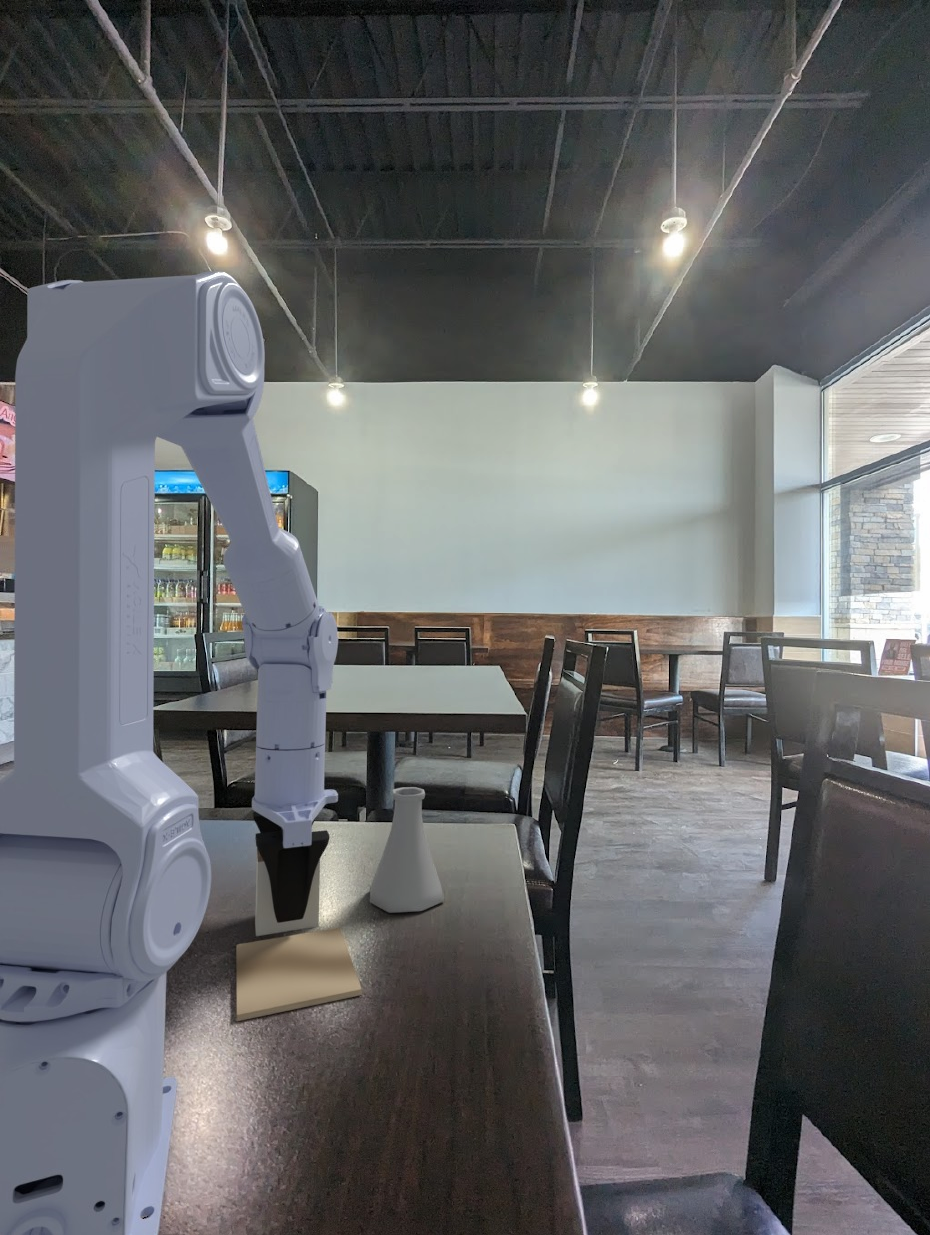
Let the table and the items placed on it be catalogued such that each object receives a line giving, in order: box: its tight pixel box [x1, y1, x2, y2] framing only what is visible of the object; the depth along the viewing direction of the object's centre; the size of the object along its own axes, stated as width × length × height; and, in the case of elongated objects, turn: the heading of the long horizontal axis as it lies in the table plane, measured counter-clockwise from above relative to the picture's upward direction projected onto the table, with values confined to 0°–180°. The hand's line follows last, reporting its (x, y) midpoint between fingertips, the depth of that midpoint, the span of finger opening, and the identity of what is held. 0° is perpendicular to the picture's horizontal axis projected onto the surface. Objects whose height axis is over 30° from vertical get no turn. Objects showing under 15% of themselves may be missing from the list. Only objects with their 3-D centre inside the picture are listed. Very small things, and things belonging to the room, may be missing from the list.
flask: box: [369, 786, 445, 914], centre depth 55 cm, size 7×7×10 cm
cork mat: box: [235, 927, 363, 1022], centre depth 43 cm, size 9×8×1 cm
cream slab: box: [254, 848, 321, 937], centre depth 50 cm, size 2×5×6 cm, turn 112°
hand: (287, 904), depth 50 cm, fingers open, 5 cm apart
